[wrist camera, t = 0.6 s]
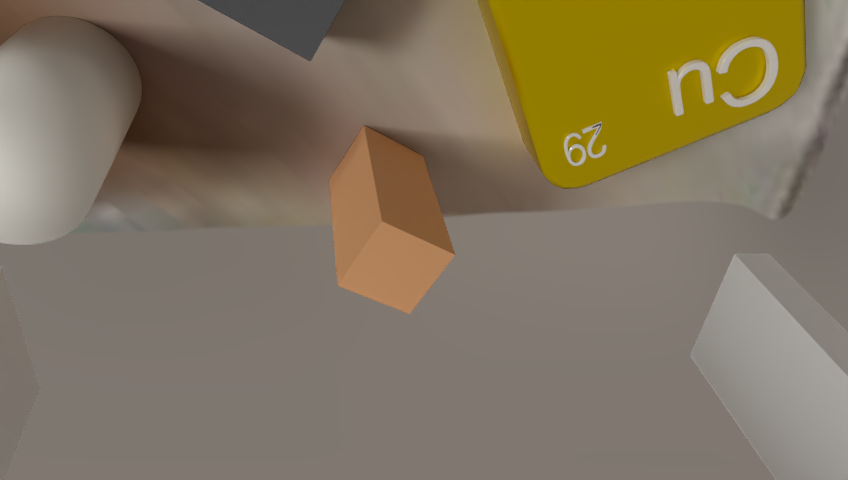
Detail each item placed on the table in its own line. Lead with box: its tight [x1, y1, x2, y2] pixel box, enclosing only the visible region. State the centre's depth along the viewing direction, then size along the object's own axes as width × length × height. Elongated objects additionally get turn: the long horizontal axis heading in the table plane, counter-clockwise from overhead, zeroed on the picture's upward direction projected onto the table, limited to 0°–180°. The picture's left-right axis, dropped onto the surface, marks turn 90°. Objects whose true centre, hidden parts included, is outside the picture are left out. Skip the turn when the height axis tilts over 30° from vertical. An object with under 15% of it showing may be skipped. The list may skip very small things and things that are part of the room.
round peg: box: [0, 16, 142, 245], centre depth 30 cm, size 6×6×10 cm
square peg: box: [329, 126, 455, 314], centre depth 35 cm, size 4×4×10 cm
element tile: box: [478, 0, 806, 189], centre depth 35 cm, size 15×15×5 cm
